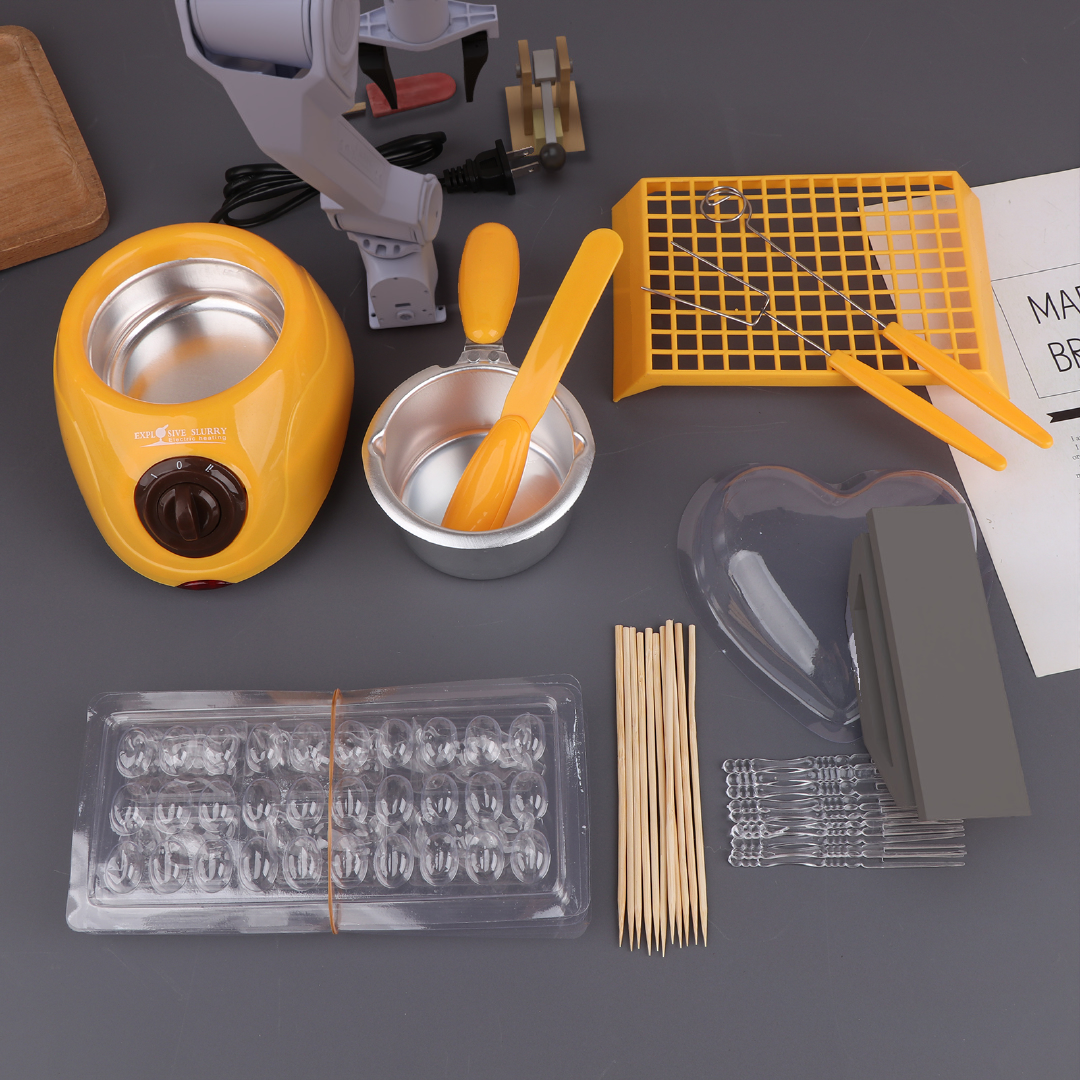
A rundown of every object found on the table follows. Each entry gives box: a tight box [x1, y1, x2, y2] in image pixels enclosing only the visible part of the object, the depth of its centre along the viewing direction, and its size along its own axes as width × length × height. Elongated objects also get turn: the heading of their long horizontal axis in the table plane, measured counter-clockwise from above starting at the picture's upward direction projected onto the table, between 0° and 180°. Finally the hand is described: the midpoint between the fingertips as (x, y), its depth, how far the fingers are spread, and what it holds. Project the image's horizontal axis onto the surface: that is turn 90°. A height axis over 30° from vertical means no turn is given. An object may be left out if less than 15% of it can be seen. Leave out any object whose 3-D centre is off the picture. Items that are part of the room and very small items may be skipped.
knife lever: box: [531, 48, 568, 174], centre depth 94 cm, size 12×3×3 cm, turn 6°
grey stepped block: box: [846, 502, 1033, 822], centre depth 76 cm, size 25×8×11 cm, turn 3°
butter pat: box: [533, 107, 563, 156], centre depth 98 cm, size 4×3×2 cm
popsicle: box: [342, 72, 457, 119], centre depth 102 cm, size 4×2×15 cm
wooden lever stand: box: [504, 35, 586, 157], centre depth 97 cm, size 10×8×10 cm
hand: (431, 98), depth 91 cm, fingers open, 7 cm apart
